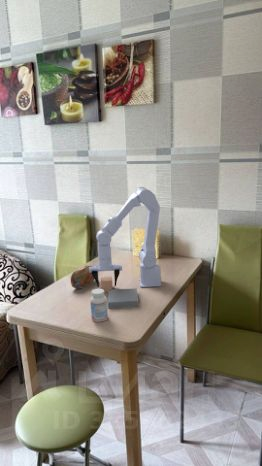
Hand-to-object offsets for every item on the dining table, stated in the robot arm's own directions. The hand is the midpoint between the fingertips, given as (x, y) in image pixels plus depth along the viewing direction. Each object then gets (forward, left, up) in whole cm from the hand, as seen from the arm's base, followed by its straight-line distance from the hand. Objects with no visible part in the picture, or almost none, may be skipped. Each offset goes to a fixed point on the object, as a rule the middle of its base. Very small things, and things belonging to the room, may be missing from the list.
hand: (106, 285), depth 159 cm
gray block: (-7, +13, -2) cm, 15 cm away
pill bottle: (+2, +27, -2) cm, 27 cm away
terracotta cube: (0, 0, -2) cm, 2 cm away
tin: (+11, -6, -2) cm, 13 cm away
